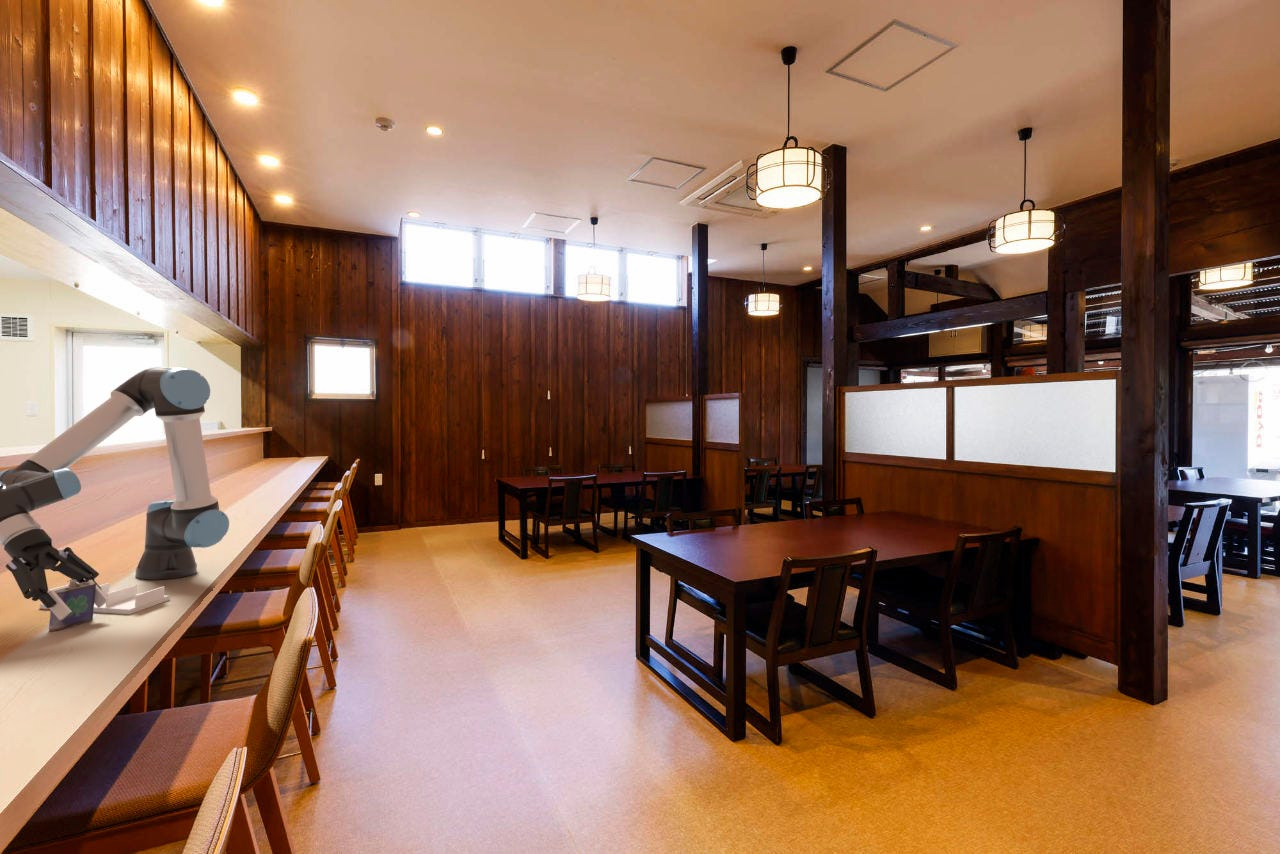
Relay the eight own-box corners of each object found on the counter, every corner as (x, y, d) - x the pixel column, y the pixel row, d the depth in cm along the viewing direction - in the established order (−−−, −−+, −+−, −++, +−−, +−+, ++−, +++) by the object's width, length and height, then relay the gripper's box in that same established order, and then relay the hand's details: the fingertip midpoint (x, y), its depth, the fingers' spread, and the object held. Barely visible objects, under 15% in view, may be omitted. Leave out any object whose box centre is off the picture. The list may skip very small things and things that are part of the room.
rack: (86, 594, 166) (87, 579, 166) (169, 599, 166) (170, 584, 166) (39, 608, 153) (40, 591, 153) (129, 614, 153) (130, 597, 153)
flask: (54, 631, 138) (57, 584, 138) (43, 630, 139) (47, 583, 139) (96, 619, 148) (99, 575, 148) (86, 618, 148) (89, 574, 148)
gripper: (55, 540, 154) (113, 606, 154) (-42, 558, 132) (26, 635, 132) (77, 520, 154) (135, 587, 154) (-16, 535, 132) (52, 612, 132)
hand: (85, 609), depth 143 cm, fingers closed on flask, 9 cm apart
